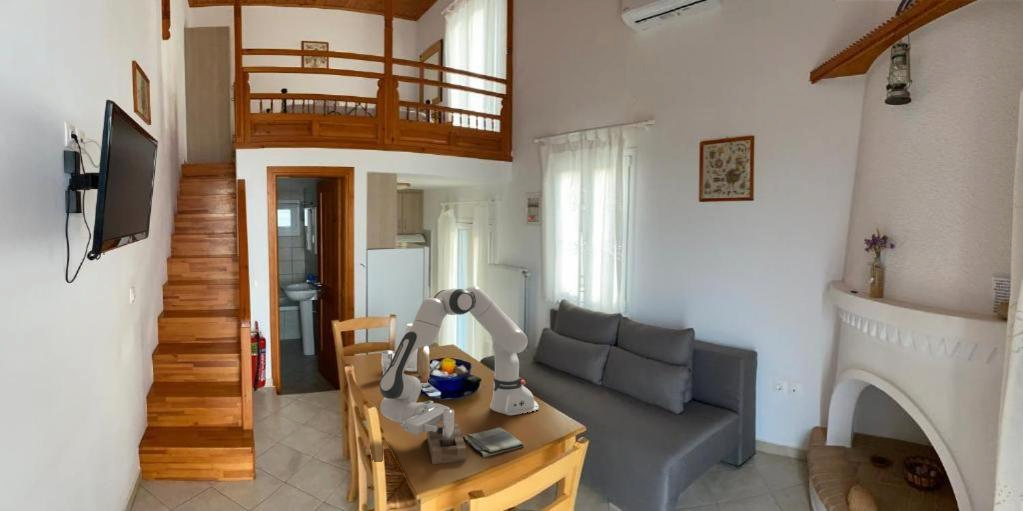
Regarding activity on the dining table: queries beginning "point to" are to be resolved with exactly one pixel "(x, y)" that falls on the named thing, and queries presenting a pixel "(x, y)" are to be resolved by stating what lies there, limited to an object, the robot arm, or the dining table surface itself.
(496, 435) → the dish towel
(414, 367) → the decorative vase
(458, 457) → the bore block
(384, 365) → the beer glass
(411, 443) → the dining table surface
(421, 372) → the bird sculpture
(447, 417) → the pin
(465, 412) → the dining table surface
